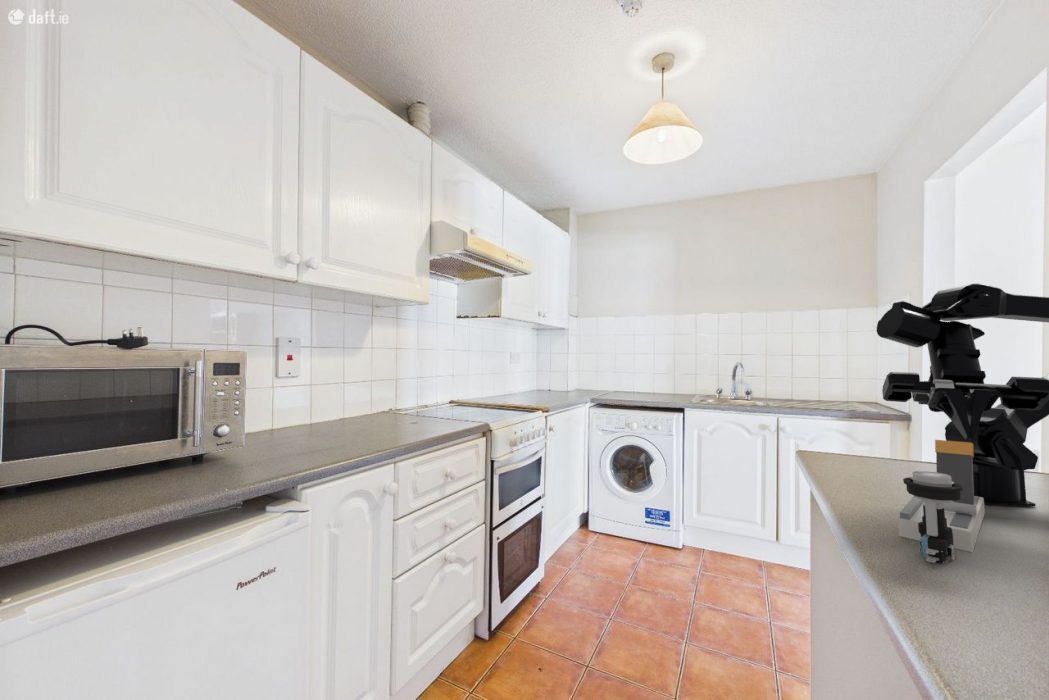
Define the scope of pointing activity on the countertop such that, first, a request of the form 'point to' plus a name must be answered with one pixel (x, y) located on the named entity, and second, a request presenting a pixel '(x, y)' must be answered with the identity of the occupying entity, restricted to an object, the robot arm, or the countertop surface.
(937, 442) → the lever
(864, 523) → the countertop surface
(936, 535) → the push button
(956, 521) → the panel
